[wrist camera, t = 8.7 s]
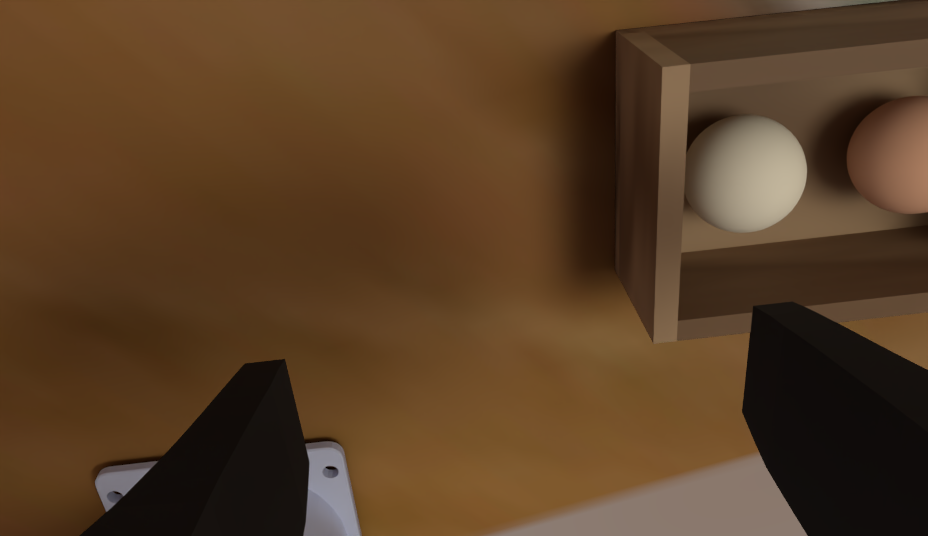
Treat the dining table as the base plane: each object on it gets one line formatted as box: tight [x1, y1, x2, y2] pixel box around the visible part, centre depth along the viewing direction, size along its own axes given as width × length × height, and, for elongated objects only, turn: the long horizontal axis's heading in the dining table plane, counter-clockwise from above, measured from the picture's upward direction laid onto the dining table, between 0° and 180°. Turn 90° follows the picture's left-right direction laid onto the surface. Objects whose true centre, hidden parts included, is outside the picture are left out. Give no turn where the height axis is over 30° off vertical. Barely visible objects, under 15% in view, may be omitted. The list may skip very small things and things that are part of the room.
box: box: [615, 0, 928, 344], centre depth 20 cm, size 7×10×4 cm
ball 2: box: [847, 96, 928, 214], centre depth 20 cm, size 3×3×3 cm
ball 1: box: [684, 114, 807, 233], centre depth 20 cm, size 3×3×3 cm
